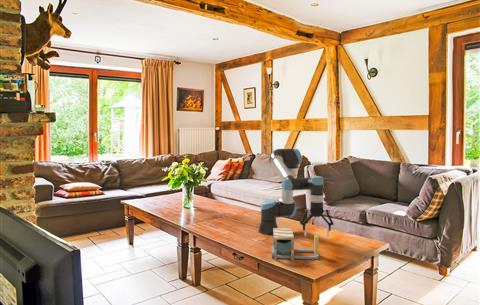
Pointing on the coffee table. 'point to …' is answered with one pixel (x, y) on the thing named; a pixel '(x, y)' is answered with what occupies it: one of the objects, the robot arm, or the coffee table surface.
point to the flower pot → (283, 246)
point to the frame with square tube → (316, 241)
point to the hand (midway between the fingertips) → (316, 235)
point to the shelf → (283, 234)
